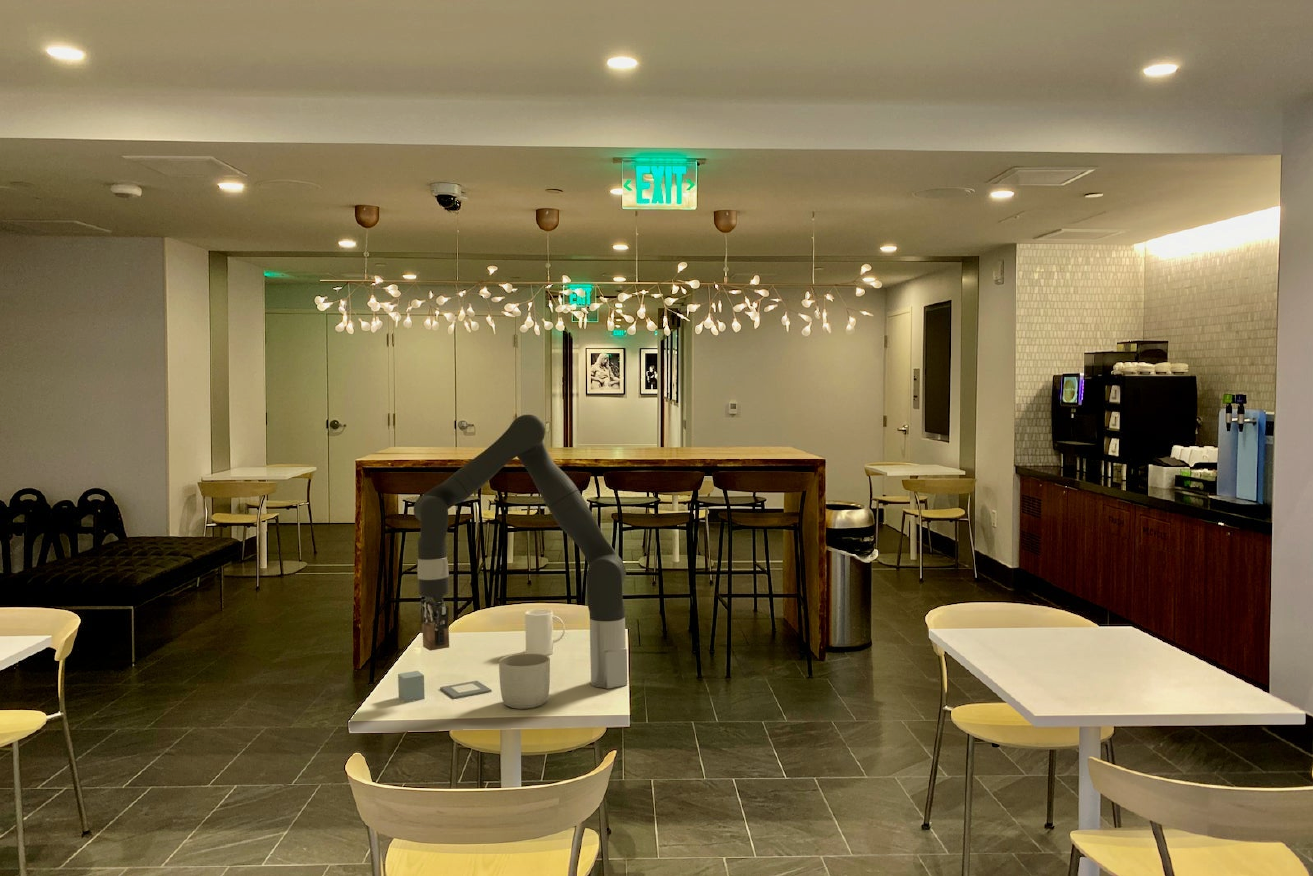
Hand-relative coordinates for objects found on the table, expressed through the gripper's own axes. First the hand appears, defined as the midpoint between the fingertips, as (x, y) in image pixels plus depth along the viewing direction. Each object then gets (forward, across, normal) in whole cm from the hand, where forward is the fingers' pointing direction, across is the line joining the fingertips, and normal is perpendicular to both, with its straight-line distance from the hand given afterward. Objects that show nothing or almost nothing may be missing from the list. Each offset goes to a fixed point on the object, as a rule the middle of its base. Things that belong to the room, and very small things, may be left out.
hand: (436, 643), depth 237 cm
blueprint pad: (+14, +2, -8) cm, 16 cm away
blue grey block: (+14, +4, +6) cm, 15 cm away
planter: (+14, -18, -16) cm, 28 cm away
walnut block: (+1, 0, 0) cm, 1 cm away
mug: (+14, +23, -41) cm, 49 cm away
